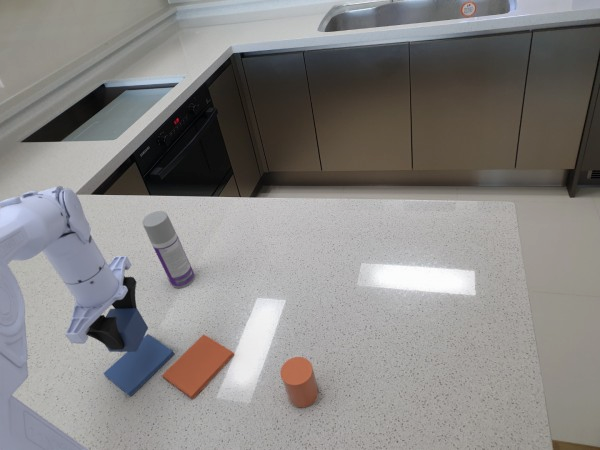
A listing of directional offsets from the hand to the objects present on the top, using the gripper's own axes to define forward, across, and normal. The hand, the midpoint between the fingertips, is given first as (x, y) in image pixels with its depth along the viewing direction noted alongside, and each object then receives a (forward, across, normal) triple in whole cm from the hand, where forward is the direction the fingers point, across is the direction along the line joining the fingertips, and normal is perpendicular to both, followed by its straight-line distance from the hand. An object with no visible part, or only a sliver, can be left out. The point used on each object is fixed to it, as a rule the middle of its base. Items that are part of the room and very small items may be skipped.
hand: (125, 333), depth 69 cm
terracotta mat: (+8, 0, -9) cm, 12 cm away
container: (+8, +19, 0) cm, 21 cm away
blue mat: (+8, 0, +1) cm, 8 cm away
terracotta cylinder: (+8, -4, -26) cm, 28 cm away
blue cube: (+1, 0, 0) cm, 1 cm away
